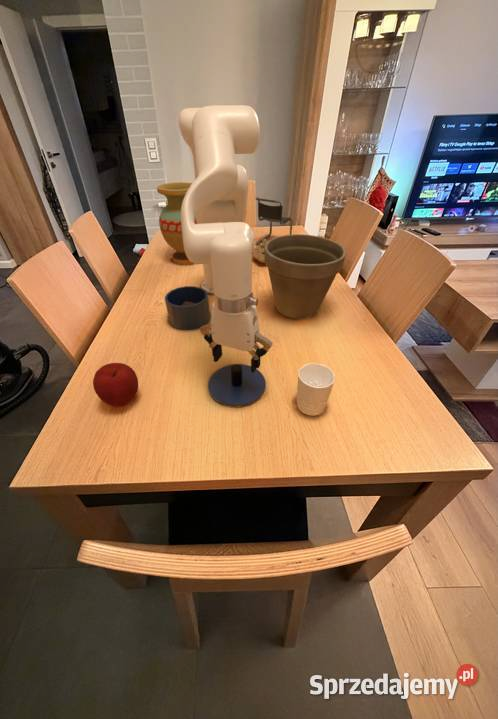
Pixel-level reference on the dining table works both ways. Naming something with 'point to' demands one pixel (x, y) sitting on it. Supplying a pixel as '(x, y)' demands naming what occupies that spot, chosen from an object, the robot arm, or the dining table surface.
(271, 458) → the dining table surface
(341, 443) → the dining table surface
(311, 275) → the plant pot
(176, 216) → the vase
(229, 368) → the lid
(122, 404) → the apple
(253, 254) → the oil lamp
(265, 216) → the chair
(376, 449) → the dining table surface
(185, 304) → the block
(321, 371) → the white cup
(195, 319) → the tin
